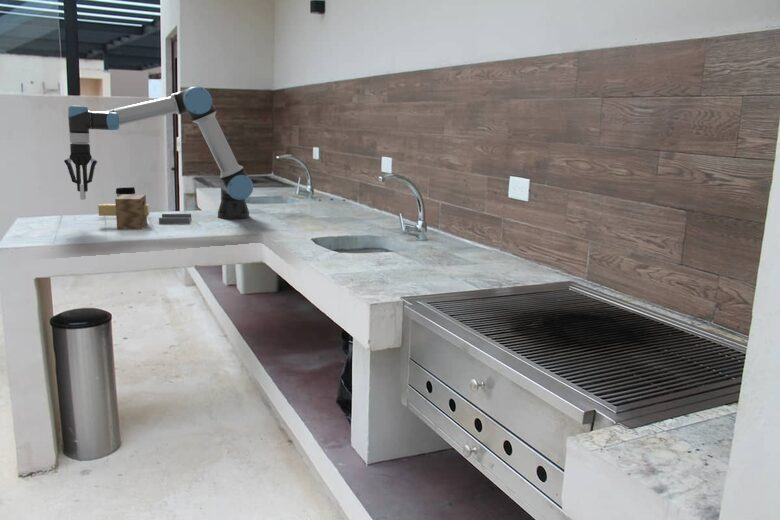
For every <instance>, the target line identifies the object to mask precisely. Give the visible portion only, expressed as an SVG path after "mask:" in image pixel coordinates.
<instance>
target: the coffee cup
mask: <svg viewBox="0 0 780 520" xmlns="http://www.w3.org/2000/svg"><path fill="white" fill-rule="evenodd" d="M115 194H116V198H117V197H119V196H120V195H122V194H135V195H136V190H135V186H134V187H133V186H132V187H117V188H116V189H115Z"/></svg>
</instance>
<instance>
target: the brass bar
mask: <svg viewBox="0 0 780 520" xmlns="http://www.w3.org/2000/svg"><path fill="white" fill-rule="evenodd" d="M142 205H143V216H147V217H148V216H150V203H146V204H142ZM97 207H98V208H97V209H98V217H102V216H103V217H105V216H106V217H111V216H112V217H116V203H99V204H98V205H97Z"/></svg>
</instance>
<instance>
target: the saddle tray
mask: <svg viewBox="0 0 780 520" xmlns="http://www.w3.org/2000/svg"><path fill="white" fill-rule="evenodd" d="M191 221H192V213H162V214H161V217H158V224H159V225H190V224H191Z"/></svg>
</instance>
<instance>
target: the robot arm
mask: <svg viewBox="0 0 780 520" xmlns="http://www.w3.org/2000/svg"><path fill="white" fill-rule="evenodd" d="M67 113H68V116H67V118H68V128H69V129H68V130H69V142H70V144H69V147H70V148H69V149H70V154H69V158H66V159H64V160H63V162H64V164H65V165H66V166H67V171H68V173H69V176H70V179H71V182H72V183H75V184H76V189H77V192H79V195H80V197H79V198H80V200H84V201H85V200H86V198H87V196H86V192H88V191H89V189H88V187H89V186H88V184H89V183H92V182H93V178H94V174H95V169H96V168H95V167H96V165H97V164H98V162H99V161H98V160H97V159H94V158H93V157H92V155H91V145H90V144H89V143H90V130H101V131H103V130H105V131H106V130H107V131H118V130H119V129H120V126H124V125H129V124H133V123H134V124H135V123H137V122H142V121H146V120H150V119H151V120H152V119H155V118H160V117H164V116H168V115H173V114H176V115H178V116H179V115H184V114H188V115H189V119H190V120H191V122H192V123H194V124H196V125H197V126H198V128H199V130H200V132H201V134H202V136H203V138H204V141H205V142H206V144H207V146H208V149H209V150H210V153H211V154H212V156H213V159H214V160H215V163H216V165H217V167H218V169H219V170H220V174H219V179H220V204H219V207H218V210H217V217H218V218H219V219H225V220H227V219H229V220H239V219H247V218H249V217H250V210H249V208H248V204H247V201H246V199H247V198H249V197H250V196H251V195H252V193H253V191H254V184H253V181H252V179H251V178H250V177H249V176H248V174H247V172H246V170H245V168H244V166H243V165H240V164H239V163H238V161H237V159H236V156H235V154H234V153H233V150H232V148H231V146H230V144H229V142H228V141H227V140H228V139H227V138H226V136H225V134H224V132H223V130H222V128H221V126H220V123H219V122H218V120H217V118H216V114H217V109H216V107H215V105H214V103H213V98H212V96H211V94H210V93H209V91H208V90H207V89H206V88H204V87H202V86H198V85H197V86H196V85H193V86H191V87H188V88H186V89H183V90H180V91H178V92H174V93H172V94H171V95H170V96H167V97H162V98H157V99H154V100H148V101H143V102H140V103H139V102H138V103H135V104H131V105H130V104H129V105H126V106H120V107H116V108H113V109H107V110H103V111H95V110H94V111H93V110H89V107H88V106H86V105H70V106H69V107H68V109H67ZM72 163H73V164H74V165H75V166H74V167H75V172H74V169H73V166H72V165H73V164H72ZM89 163H90V164H91V165H90V167H89V168H90V169H89V173H88V168H87V167H88V164H89ZM81 168H82V170H81ZM81 171H82V172H81ZM81 173H82V174H81ZM81 175H82V176H81ZM82 181H83V183H82Z"/></svg>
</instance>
